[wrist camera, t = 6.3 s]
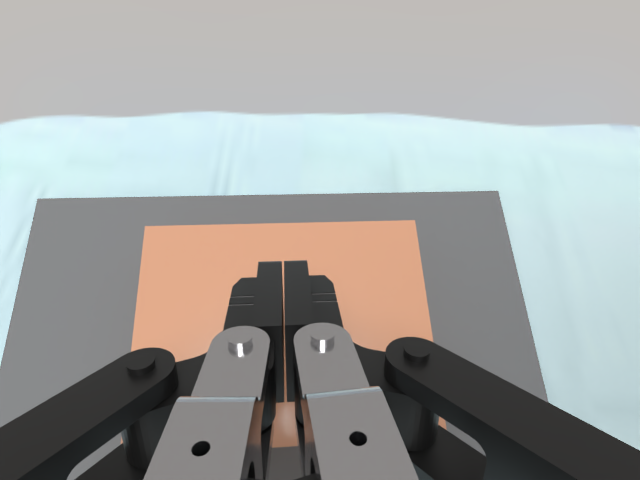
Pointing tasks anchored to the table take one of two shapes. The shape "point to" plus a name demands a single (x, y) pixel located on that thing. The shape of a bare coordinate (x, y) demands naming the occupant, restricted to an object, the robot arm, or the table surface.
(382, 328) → the tile
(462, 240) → the mat
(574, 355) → the table surface
